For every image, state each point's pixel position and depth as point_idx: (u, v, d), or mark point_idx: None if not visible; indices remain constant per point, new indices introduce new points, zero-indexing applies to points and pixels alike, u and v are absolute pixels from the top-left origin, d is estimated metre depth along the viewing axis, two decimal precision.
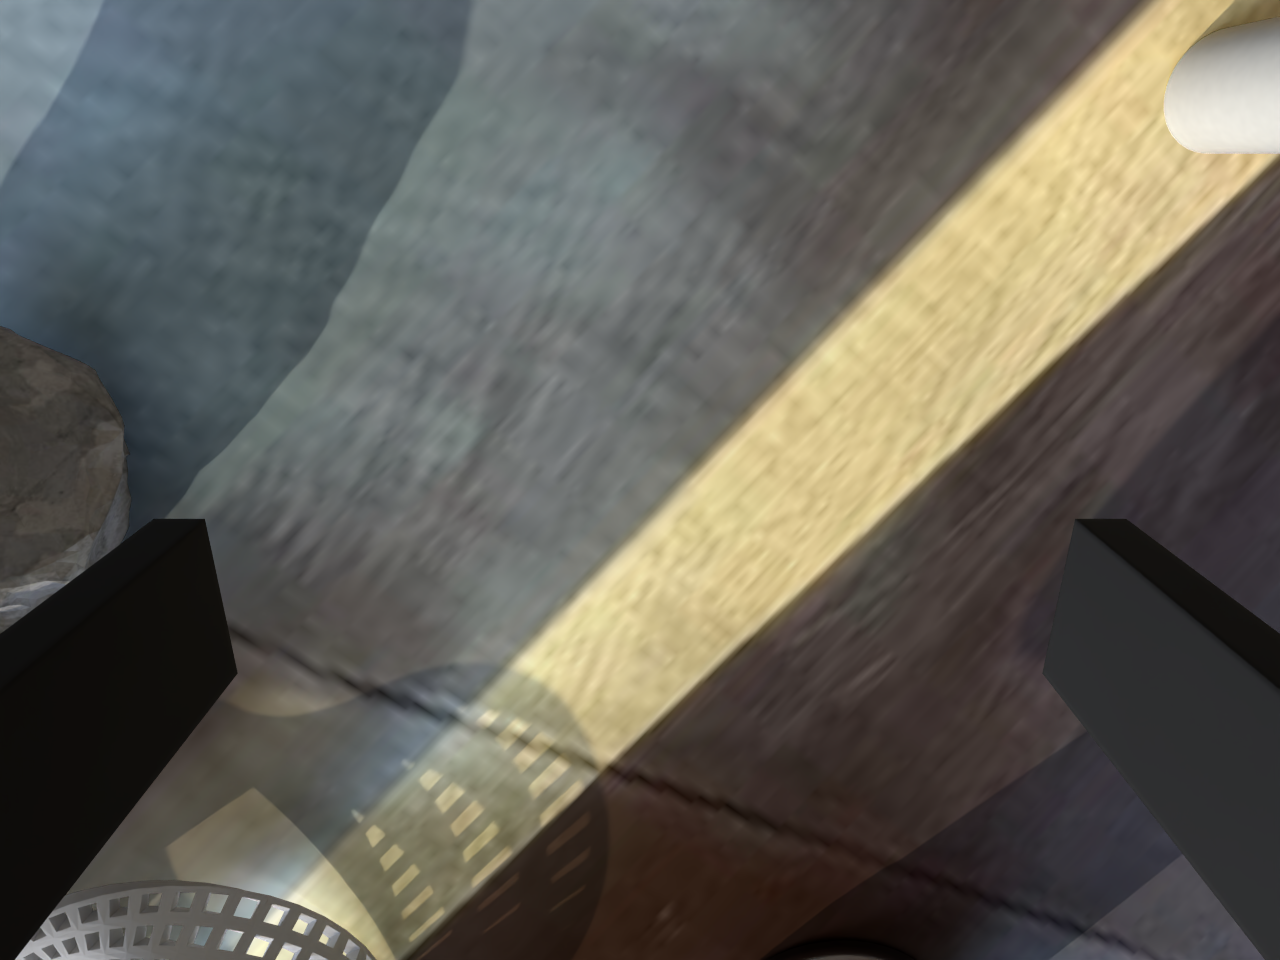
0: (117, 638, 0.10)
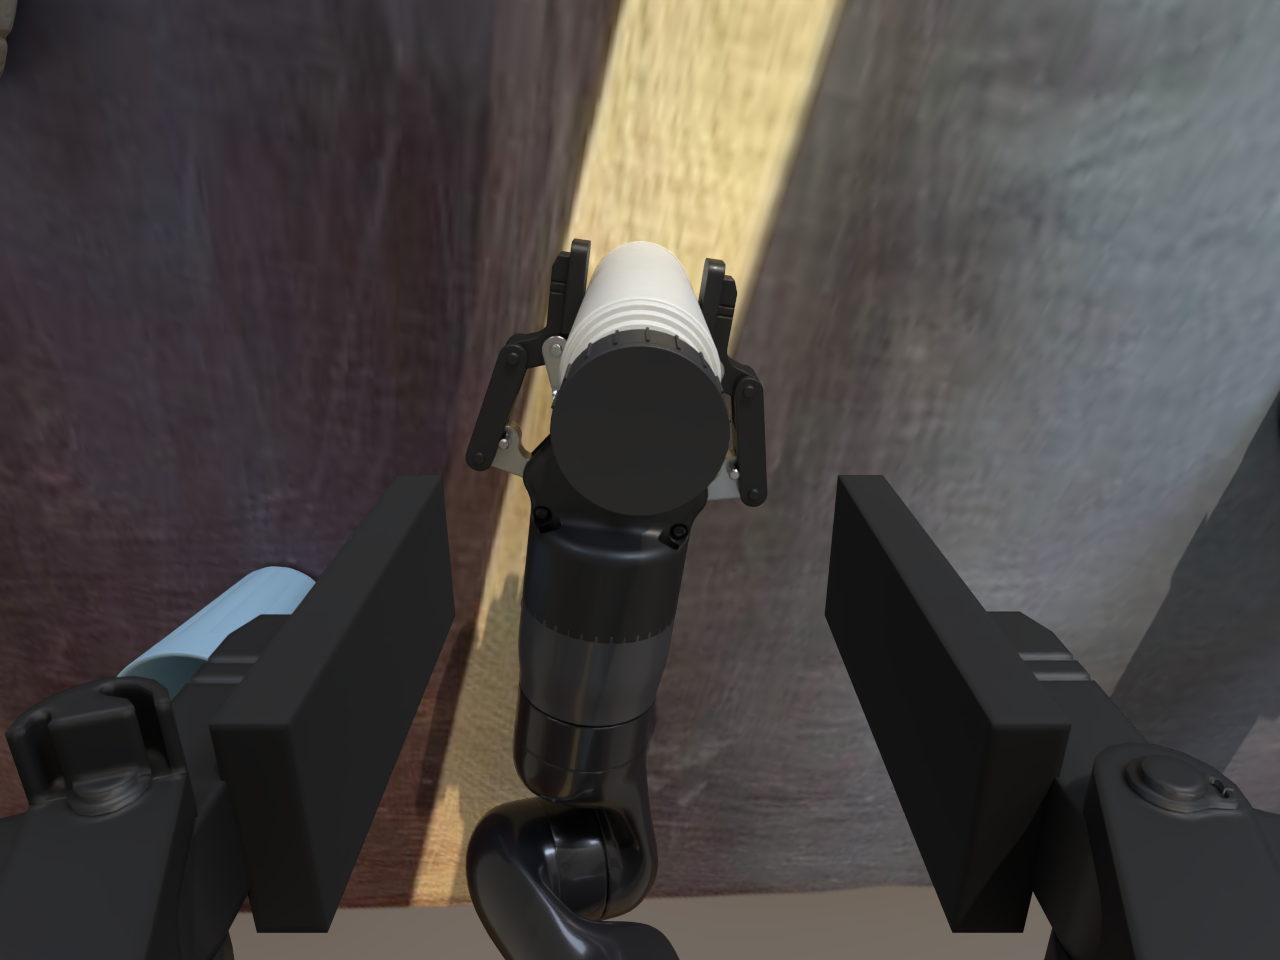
0: (407, 570, 0.12)
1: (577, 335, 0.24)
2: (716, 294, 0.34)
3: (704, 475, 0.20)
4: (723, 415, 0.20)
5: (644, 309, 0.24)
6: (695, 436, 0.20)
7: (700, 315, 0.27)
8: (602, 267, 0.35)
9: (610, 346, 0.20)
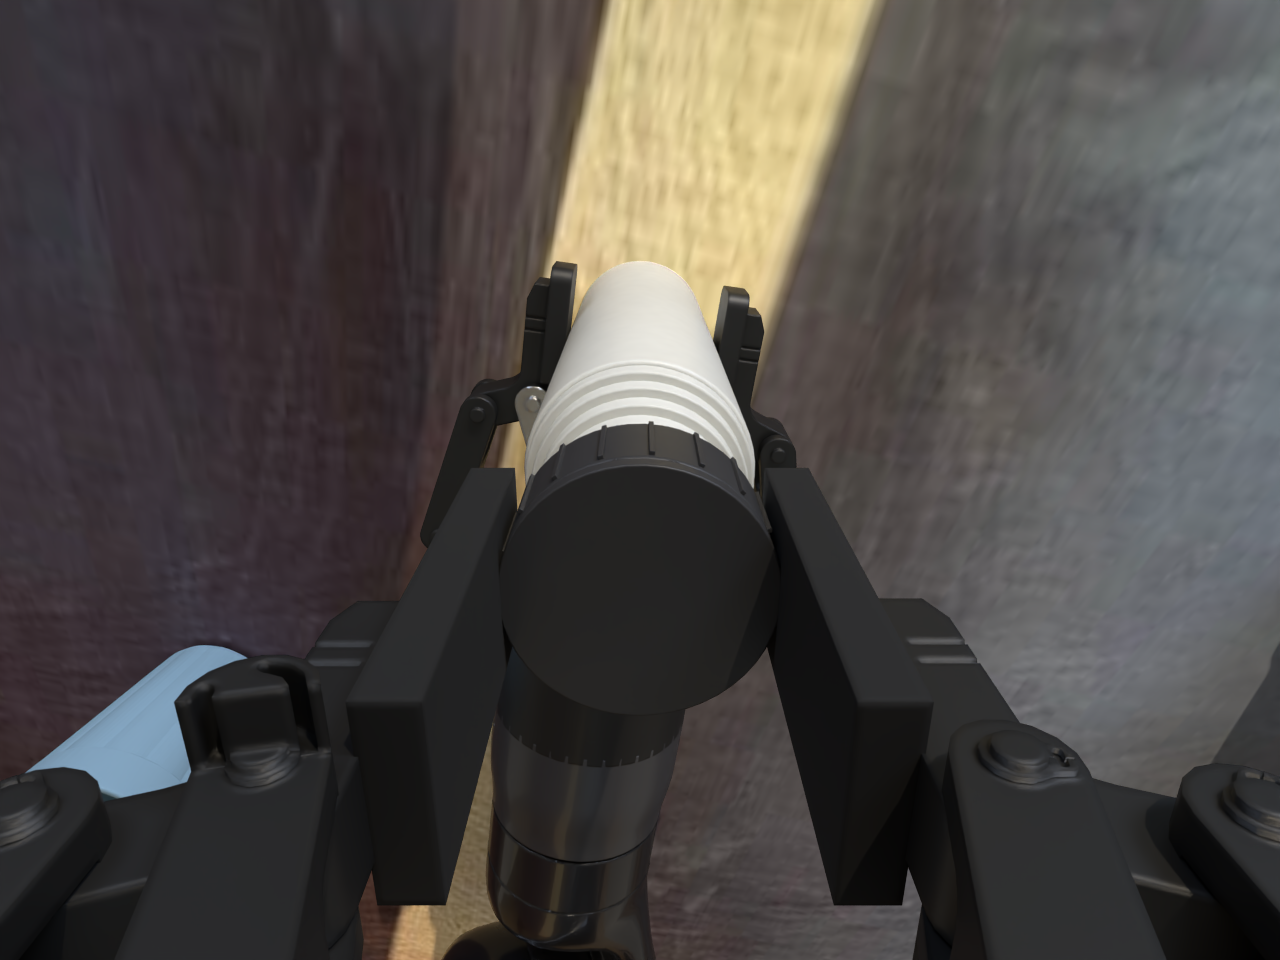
0: (493, 559, 0.12)
1: (549, 417, 0.17)
2: (737, 333, 0.26)
3: (740, 657, 0.13)
4: (772, 570, 0.12)
5: (646, 380, 0.16)
6: (727, 601, 0.13)
7: (723, 377, 0.19)
8: (592, 297, 0.28)
9: (592, 461, 0.12)
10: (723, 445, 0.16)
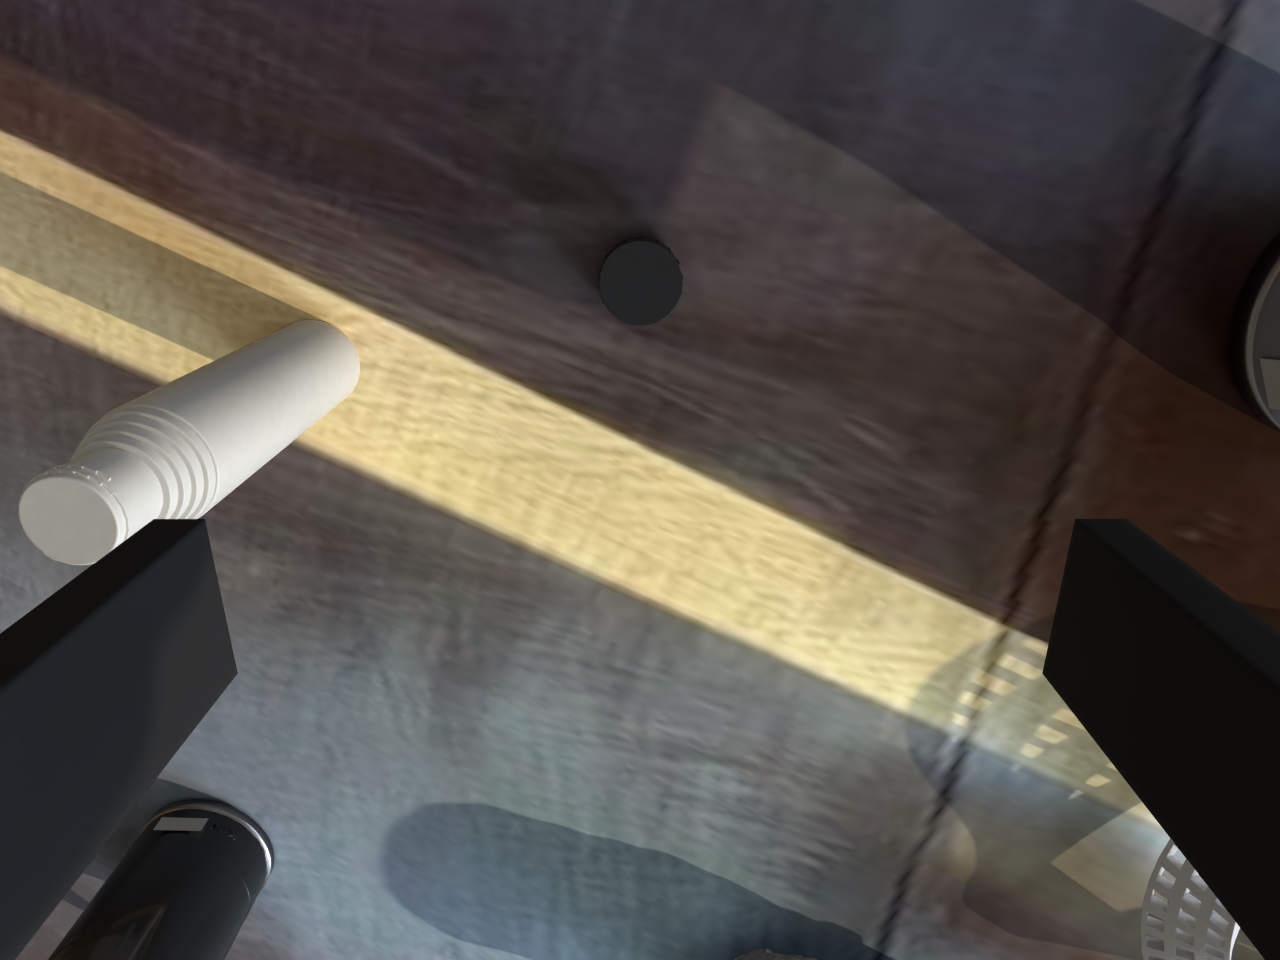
0: (118, 637, 0.10)
1: (184, 435, 0.30)
2: None
3: (677, 279, 0.43)
4: (663, 250, 0.43)
5: (204, 488, 0.31)
6: (660, 267, 0.43)
7: None
8: (317, 364, 0.42)
9: (604, 261, 0.43)
10: None
